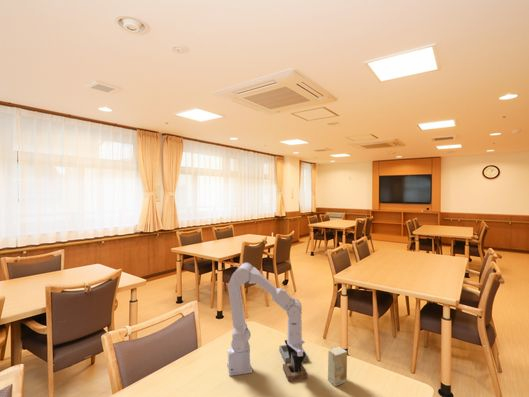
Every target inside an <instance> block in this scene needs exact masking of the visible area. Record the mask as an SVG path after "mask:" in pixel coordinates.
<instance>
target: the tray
mask: <svg viewBox="0 0 529 397" xmlns="http://www.w3.org/2000/svg"><path fill="white" fill-rule="evenodd" d="M278 348H279V354H280V355H281V357H282V360H283V362H284V364H287V363H291V359H290V358H289V354H288V349H287V346H286V344H283V345H279V347H278ZM302 350H303V352H305V353H306V356H305V358H304V359H303V362H308V354H307V352H306V351H305V348H304V347H302Z"/></svg>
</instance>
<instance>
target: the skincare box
mask: <svg viewBox="0 0 529 397" xmlns="http://www.w3.org/2000/svg"><path fill="white" fill-rule="evenodd" d="M327 353H328V358H327V360H328V361H327V363H328V364H327V381H328V382H329V383H331V385H332V386H334V387H337V386H340V385H342V384H345V383H347V381H348V380H347V377H348V376H347V375H348V374H347V372H348V351H347V350H346V349H345V348H343V347H341V346H337V347H333V348H331V349H328V352H327Z"/></svg>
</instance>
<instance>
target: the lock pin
mask: <svg viewBox="0 0 529 397" xmlns="http://www.w3.org/2000/svg"><path fill="white" fill-rule="evenodd" d="M290 372H291V373H294V372H299V370H295V367H294V360H293V357H292V355H291V370H290Z"/></svg>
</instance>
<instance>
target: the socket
mask: <svg viewBox="0 0 529 397" xmlns="http://www.w3.org/2000/svg"><path fill="white" fill-rule="evenodd" d="M282 370H283V373H284V375H285V377H286V380H287V382H291V381H299V380H306V379H308V372H307V370H306V368H305V367H304V364H302V366H301V369H300V370H298V372H294V373H291V363H287V364H285V363H282Z"/></svg>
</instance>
